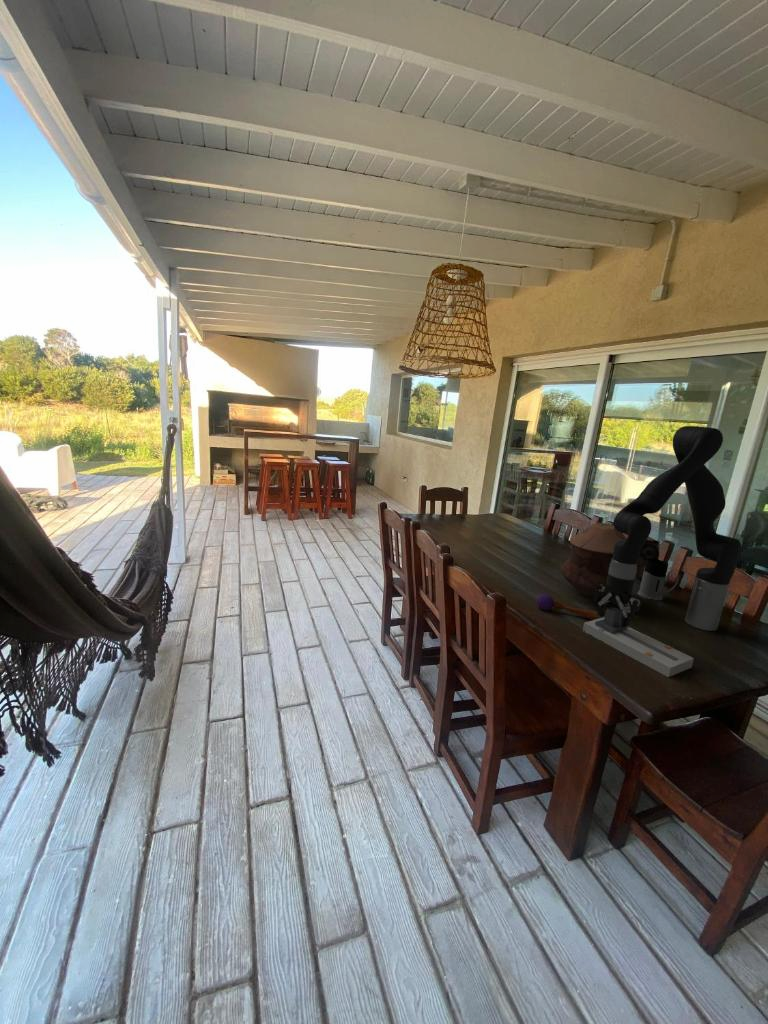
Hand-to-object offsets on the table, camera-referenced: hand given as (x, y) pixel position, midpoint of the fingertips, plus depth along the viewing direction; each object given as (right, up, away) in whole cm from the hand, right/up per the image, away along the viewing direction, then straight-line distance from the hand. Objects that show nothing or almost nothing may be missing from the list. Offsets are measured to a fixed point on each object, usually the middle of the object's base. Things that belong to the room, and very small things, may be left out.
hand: (612, 621), depth 133 cm
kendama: (-9, -2, +15) cm, 18 cm away
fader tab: (0, -2, 0) cm, 2 cm away
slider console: (+3, -7, -6) cm, 9 cm away
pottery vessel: (+10, +2, +33) cm, 34 cm away
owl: (+46, +5, +56) cm, 73 cm away
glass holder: (+37, 0, +34) cm, 50 cm away
